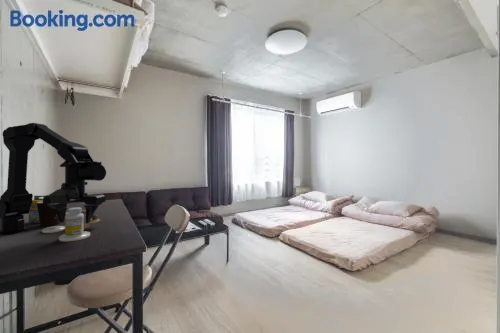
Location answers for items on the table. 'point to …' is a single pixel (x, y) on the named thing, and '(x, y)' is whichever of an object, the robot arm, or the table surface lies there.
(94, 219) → the balance
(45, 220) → the coffee mug
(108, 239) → the table surface
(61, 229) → the dish high
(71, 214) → the supplement bottle
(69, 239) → the dish low
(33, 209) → the crayon box
